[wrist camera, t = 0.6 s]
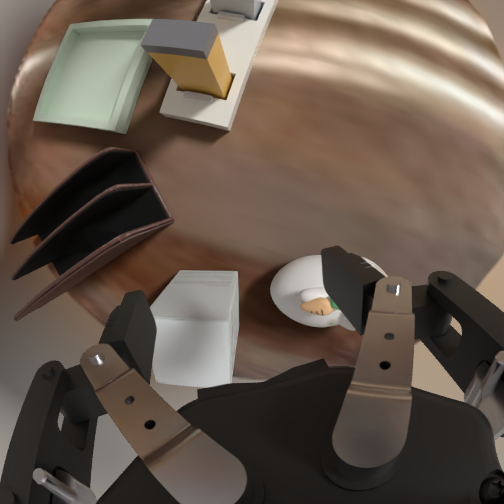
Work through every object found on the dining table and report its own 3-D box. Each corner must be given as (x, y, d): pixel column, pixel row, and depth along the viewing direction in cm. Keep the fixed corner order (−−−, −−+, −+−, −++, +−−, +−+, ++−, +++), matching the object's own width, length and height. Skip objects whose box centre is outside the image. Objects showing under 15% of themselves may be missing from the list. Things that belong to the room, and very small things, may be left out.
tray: (45, 122, 29) (32, 120, 26) (80, 31, 26) (70, 24, 23) (126, 134, 30) (114, 131, 27) (166, 29, 26) (159, 19, 23)
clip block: (220, -10, 25) (217, -24, 21) (278, 0, 25) (280, -14, 22) (166, 116, 29) (156, 110, 26) (229, 131, 30) (226, 125, 26)
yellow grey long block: (192, 75, 28) (152, 18, 14) (233, 83, 28) (215, 23, 15) (185, 94, 29) (139, 44, 15) (226, 102, 29) (203, 51, 15)
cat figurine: (263, 321, 25) (419, 329, 23) (272, 236, 27) (418, 248, 25) (268, 326, 34) (386, 333, 32) (274, 263, 36) (387, 271, 34)
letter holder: (176, 220, 33) (122, 248, 19) (71, 288, 35) (10, 331, 22) (138, 149, 30) (68, 135, 17) (41, 229, 33) (-28, 253, 20)
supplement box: (183, 322, 36) (152, 383, 23) (179, 268, 34) (139, 314, 21) (240, 325, 35) (231, 391, 23) (240, 270, 34) (229, 320, 21)
